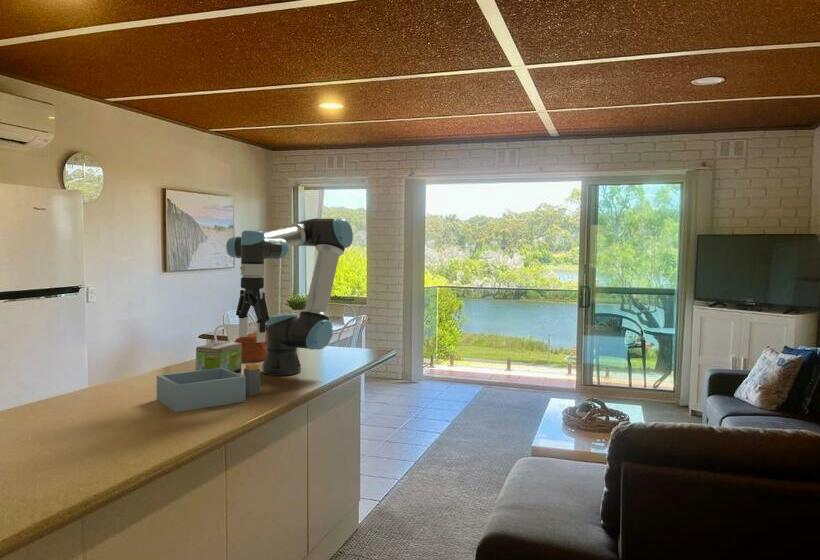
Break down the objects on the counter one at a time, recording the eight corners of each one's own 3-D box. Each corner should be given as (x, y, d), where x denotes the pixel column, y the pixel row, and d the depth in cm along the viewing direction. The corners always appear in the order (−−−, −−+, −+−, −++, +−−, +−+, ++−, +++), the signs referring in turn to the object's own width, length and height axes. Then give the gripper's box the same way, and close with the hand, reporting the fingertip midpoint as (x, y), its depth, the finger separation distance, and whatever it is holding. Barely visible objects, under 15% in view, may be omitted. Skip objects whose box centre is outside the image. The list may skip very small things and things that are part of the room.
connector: (254, 391, 204) (255, 363, 203) (260, 394, 201) (260, 364, 200) (243, 393, 201) (244, 364, 200) (248, 395, 198) (249, 366, 197)
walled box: (222, 390, 205) (223, 367, 204) (245, 401, 191) (245, 376, 190) (156, 399, 190) (156, 375, 190) (176, 412, 177) (176, 385, 176)
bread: (228, 360, 259) (229, 336, 258) (254, 350, 285) (254, 328, 284) (262, 362, 256) (263, 338, 256) (285, 352, 283) (285, 330, 282)
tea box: (220, 390, 204) (220, 348, 203) (194, 388, 206) (194, 346, 205) (242, 381, 219) (242, 341, 218) (217, 379, 221) (217, 340, 220)
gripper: (226, 275, 206) (226, 335, 207) (258, 278, 187) (257, 345, 188) (246, 274, 211) (246, 334, 212) (280, 278, 192) (279, 343, 193)
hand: (251, 339), depth 200 cm, fingers open, 13 cm apart
